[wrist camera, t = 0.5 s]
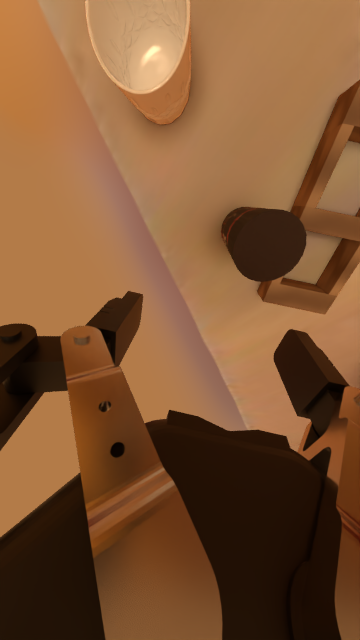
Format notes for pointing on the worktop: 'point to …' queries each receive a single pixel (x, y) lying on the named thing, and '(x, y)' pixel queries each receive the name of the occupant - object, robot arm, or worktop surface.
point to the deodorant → (264, 241)
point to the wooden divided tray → (324, 216)
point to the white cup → (145, 52)
